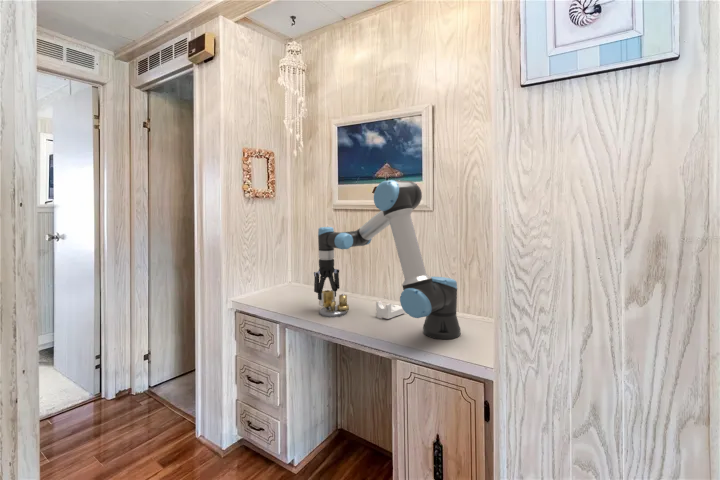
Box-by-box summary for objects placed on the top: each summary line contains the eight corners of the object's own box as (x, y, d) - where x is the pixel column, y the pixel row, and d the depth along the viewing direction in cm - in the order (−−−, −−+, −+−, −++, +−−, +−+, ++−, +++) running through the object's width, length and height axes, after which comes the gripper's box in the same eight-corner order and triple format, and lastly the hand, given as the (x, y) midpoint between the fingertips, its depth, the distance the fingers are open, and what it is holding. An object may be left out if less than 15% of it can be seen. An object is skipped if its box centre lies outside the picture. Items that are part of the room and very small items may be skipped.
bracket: (387, 321, 169) (387, 304, 168) (376, 317, 174) (376, 301, 173) (405, 314, 178) (405, 299, 177) (394, 311, 183) (394, 296, 182)
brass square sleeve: (335, 305, 183) (335, 291, 183) (325, 307, 180) (325, 293, 179) (329, 302, 188) (328, 289, 187) (319, 304, 185) (318, 291, 184)
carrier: (352, 313, 180) (352, 294, 179) (329, 319, 171) (328, 299, 170) (337, 307, 190) (337, 289, 189) (314, 312, 182) (314, 294, 181)
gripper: (338, 255, 190) (338, 299, 193) (305, 259, 179) (306, 306, 181) (346, 257, 184) (347, 302, 187) (313, 261, 173) (314, 310, 175)
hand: (327, 304), depth 184 cm, fingers closed on brass square sleeve, 6 cm apart
